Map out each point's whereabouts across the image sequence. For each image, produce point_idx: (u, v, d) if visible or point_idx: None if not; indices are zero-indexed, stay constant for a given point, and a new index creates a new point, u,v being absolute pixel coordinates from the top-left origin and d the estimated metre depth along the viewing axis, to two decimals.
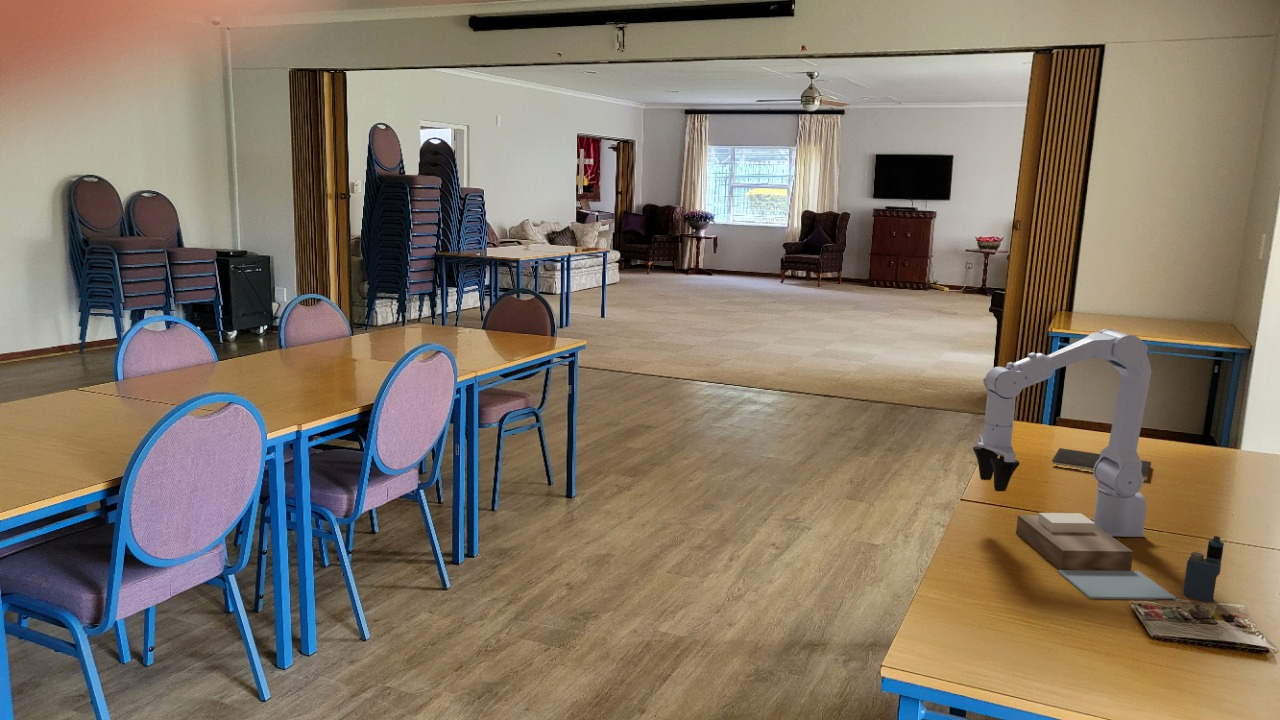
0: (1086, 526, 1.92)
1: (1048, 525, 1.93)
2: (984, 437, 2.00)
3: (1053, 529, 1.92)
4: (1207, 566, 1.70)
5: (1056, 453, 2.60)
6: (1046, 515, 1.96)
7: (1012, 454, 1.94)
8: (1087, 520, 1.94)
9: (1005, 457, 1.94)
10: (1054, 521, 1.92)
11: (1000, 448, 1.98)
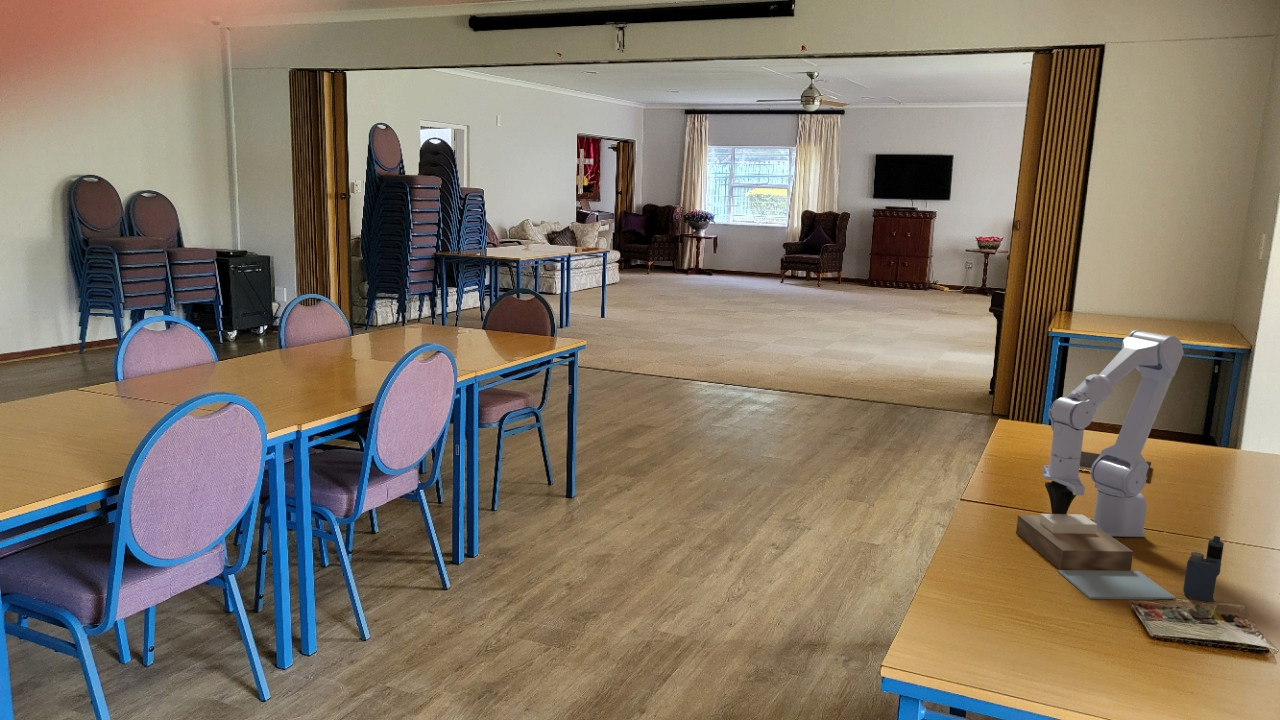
0: (1087, 527, 1.92)
1: (1049, 526, 1.93)
2: (1050, 469, 1.96)
3: (1055, 530, 1.91)
4: (1207, 566, 1.70)
5: None
6: (1047, 516, 1.95)
7: (1081, 487, 1.90)
8: (1089, 521, 1.93)
9: (1074, 490, 1.90)
10: (1056, 522, 1.92)
11: (1068, 480, 1.94)
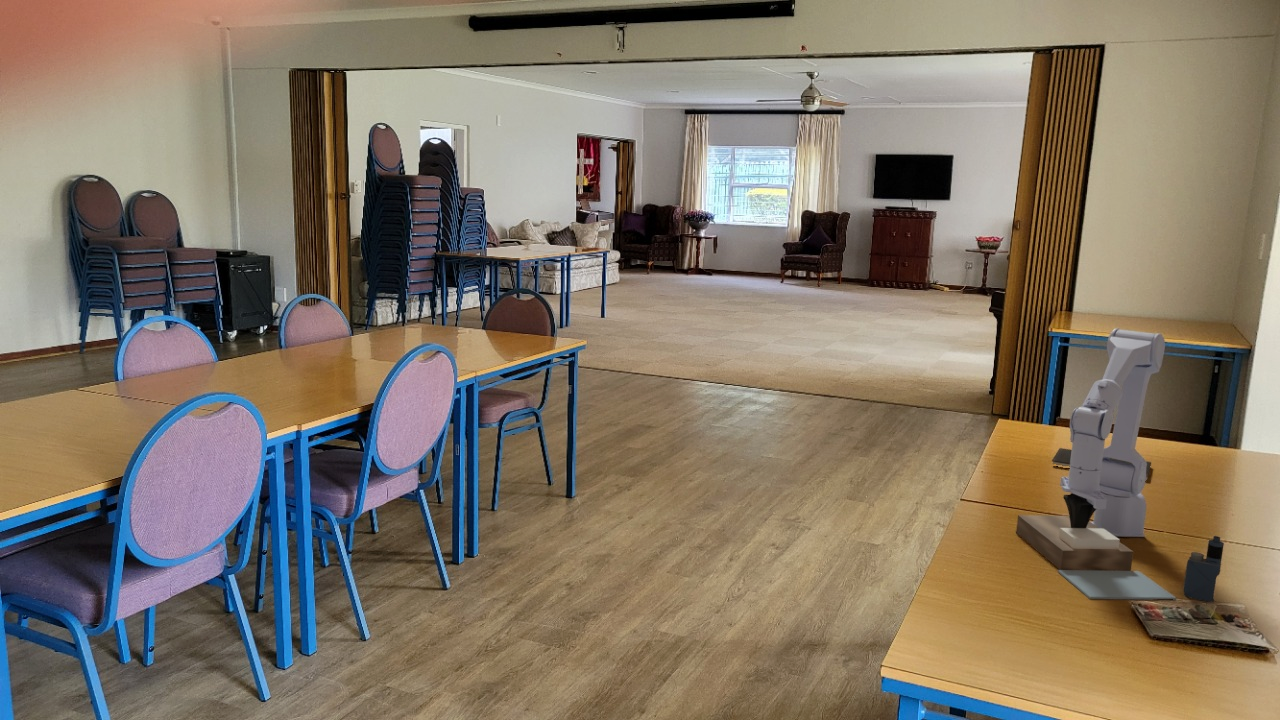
0: (1110, 543, 1.83)
1: (1070, 541, 1.85)
2: (1070, 481, 1.88)
3: (1075, 546, 1.83)
4: (1207, 566, 1.70)
5: (1056, 453, 2.60)
6: (1067, 530, 1.87)
7: (1103, 500, 1.81)
8: (1111, 536, 1.85)
9: (1095, 503, 1.82)
10: (1077, 537, 1.84)
11: (1088, 493, 1.86)
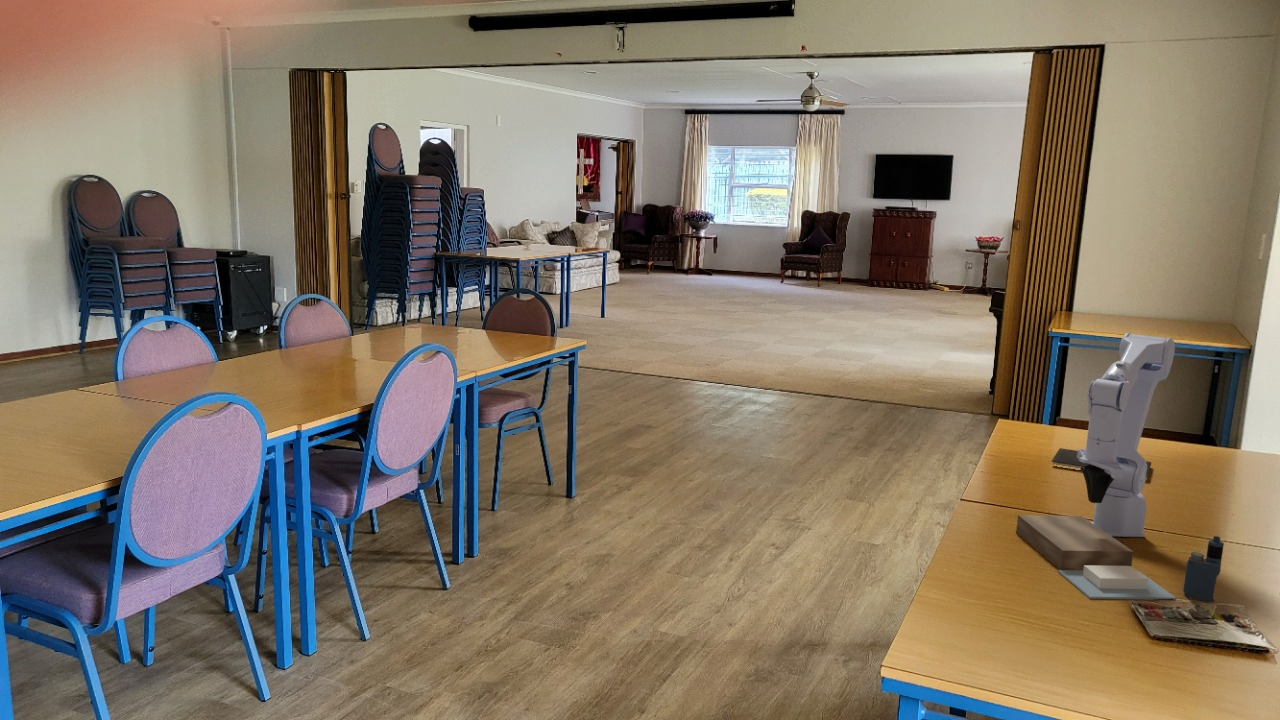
0: None
1: (1087, 572, 1.78)
2: (1087, 452, 1.91)
3: None
4: (1207, 566, 1.70)
5: (1056, 453, 2.60)
6: None
7: (1120, 470, 1.85)
8: None
9: (1113, 473, 1.85)
10: None
11: (1105, 464, 1.89)
